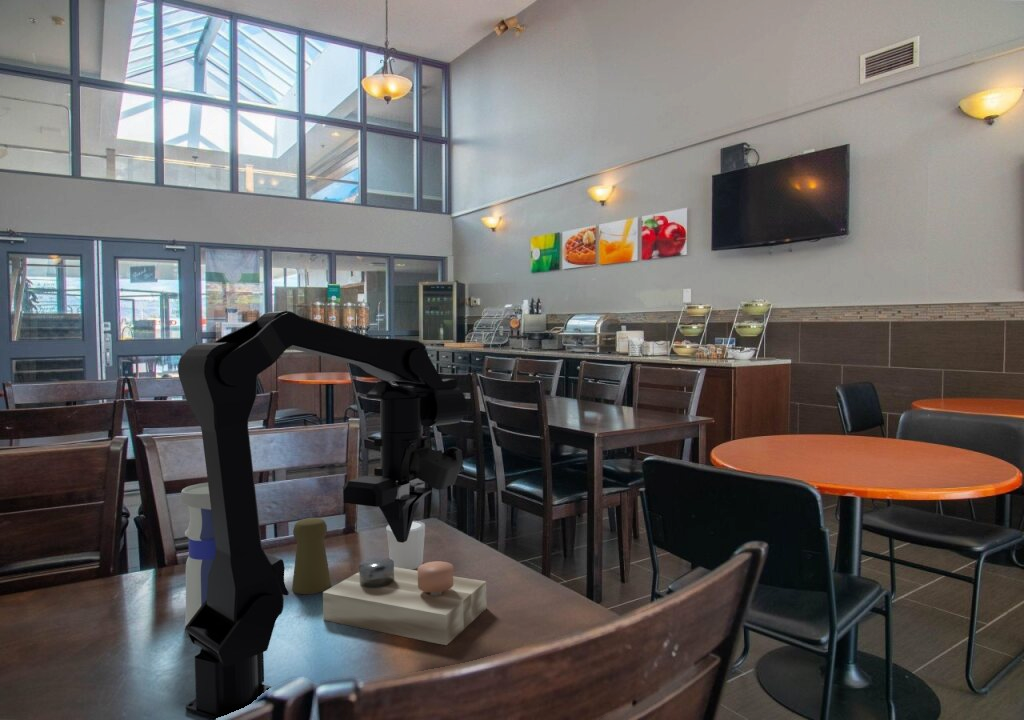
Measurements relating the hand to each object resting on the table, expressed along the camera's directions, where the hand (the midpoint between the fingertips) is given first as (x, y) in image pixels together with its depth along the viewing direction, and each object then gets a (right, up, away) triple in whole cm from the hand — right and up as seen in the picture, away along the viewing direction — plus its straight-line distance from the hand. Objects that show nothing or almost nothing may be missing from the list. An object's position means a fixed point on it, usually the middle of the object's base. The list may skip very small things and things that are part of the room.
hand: (402, 541), depth 87 cm
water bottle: (-27, -12, +2) cm, 29 cm away
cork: (-17, -12, +14) cm, 25 cm away
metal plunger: (-5, -11, +5) cm, 13 cm away
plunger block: (0, -11, +3) cm, 12 cm away
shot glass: (-3, -11, +23) cm, 26 cm away
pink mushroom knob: (+5, -10, +1) cm, 11 cm away
